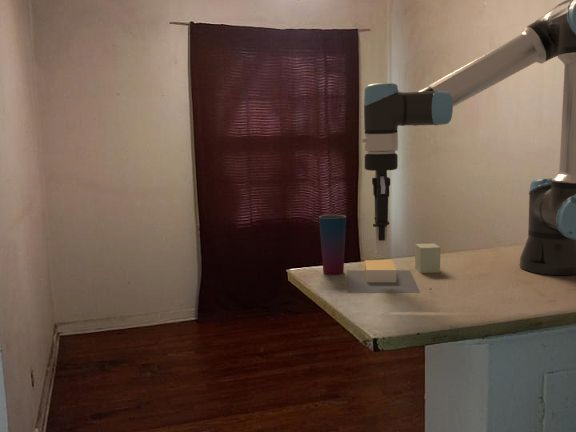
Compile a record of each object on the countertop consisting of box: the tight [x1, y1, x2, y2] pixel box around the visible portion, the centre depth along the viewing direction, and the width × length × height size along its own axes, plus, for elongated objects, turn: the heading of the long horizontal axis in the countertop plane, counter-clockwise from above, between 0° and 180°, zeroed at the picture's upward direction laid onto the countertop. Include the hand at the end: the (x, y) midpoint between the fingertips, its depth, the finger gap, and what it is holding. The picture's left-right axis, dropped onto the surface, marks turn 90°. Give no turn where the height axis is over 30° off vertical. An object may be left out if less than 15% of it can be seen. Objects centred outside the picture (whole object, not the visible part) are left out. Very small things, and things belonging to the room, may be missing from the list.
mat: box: [346, 269, 421, 294], centre depth 141 cm, size 16×20×1 cm
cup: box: [318, 214, 347, 276], centre depth 149 cm, size 7×7×15 cm
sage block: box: [414, 242, 441, 274], centre depth 149 cm, size 5×5×7 cm
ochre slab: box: [364, 259, 397, 282], centre depth 144 cm, size 7×3×10 cm
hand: (381, 253), depth 139 cm, fingers closed
